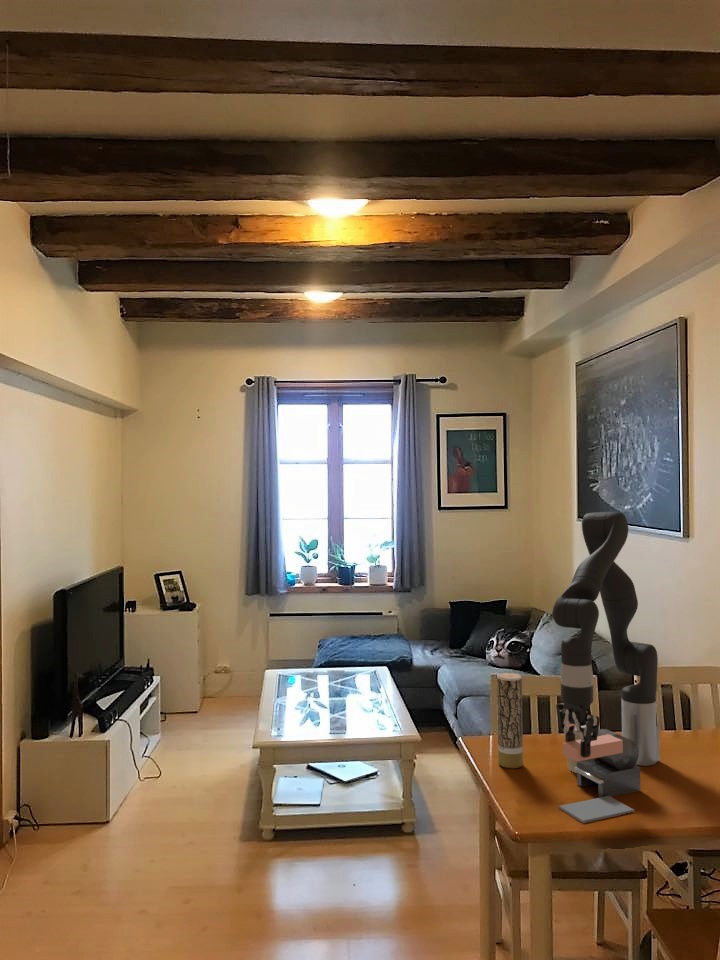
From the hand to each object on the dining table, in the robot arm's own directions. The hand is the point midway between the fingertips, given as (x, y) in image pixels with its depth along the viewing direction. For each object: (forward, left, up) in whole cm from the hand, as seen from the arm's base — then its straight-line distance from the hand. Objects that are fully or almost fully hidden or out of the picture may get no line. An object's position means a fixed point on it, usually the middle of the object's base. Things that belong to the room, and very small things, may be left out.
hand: (577, 752), depth 186 cm
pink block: (-5, 0, -1) cm, 5 cm away
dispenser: (-17, -10, -14) cm, 24 cm away
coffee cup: (-19, -23, -15) cm, 33 cm away
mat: (-5, 0, -14) cm, 15 cm away
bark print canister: (-3, -34, -15) cm, 37 cm away
